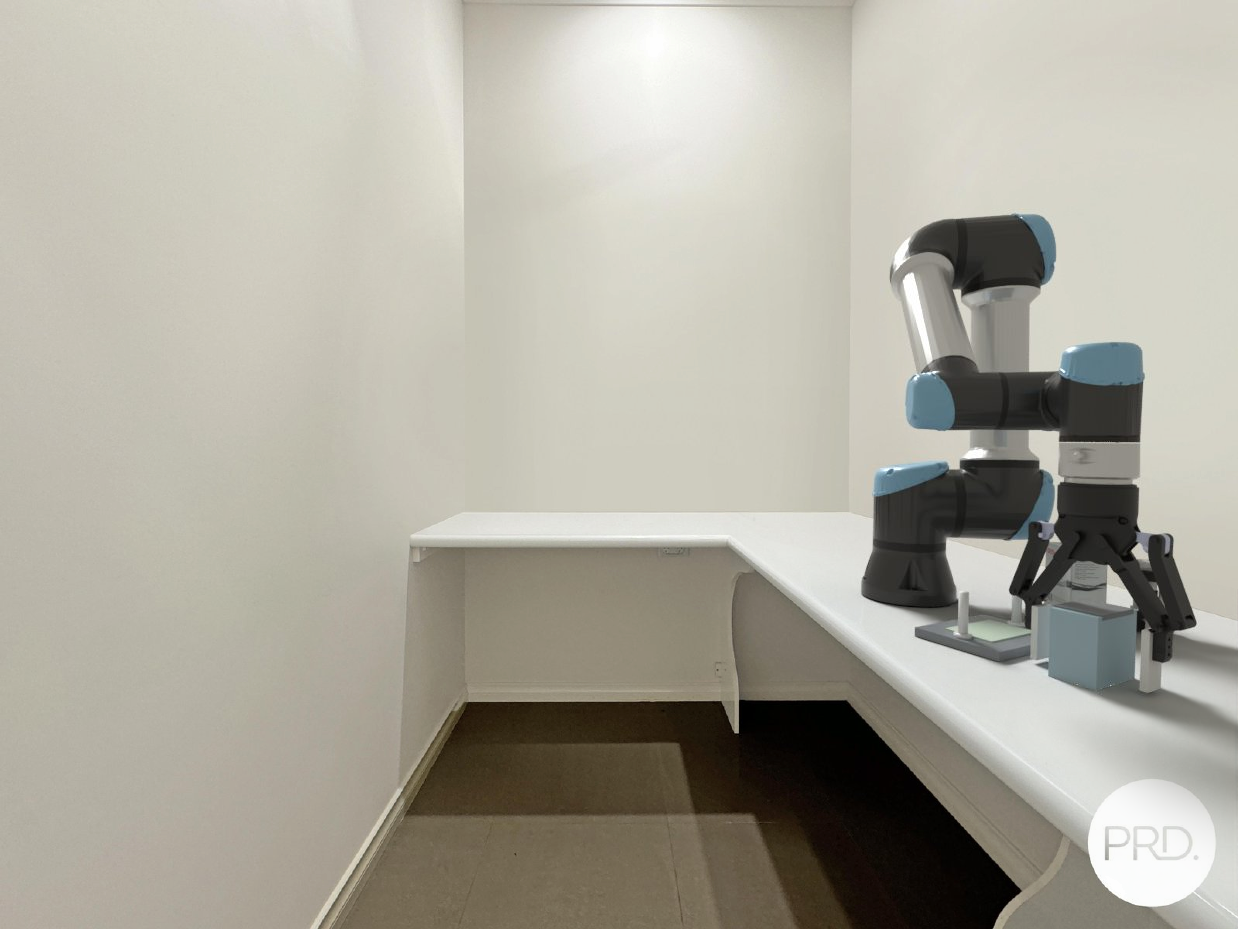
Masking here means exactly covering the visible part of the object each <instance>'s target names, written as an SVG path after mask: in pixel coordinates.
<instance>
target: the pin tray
mask: <svg viewBox="0 0 1238 929" xmlns="http://www.w3.org/2000/svg"><path fill="white" fill-rule="evenodd" d="M969 605H970V592H969V591H966V590H959V591H958V605H957V606H958V609H957V610H958V611H957V618H956V619H951V620H946V621H941V622H935V623H930V624H925V625H920V626H915V627H914V637H917V638H921V639H924V640H927V641H931V642H933V643H937V644H940V645H944V646H947V647H950V648H953V649H956V650H958V651H962V652H966V653H969V654H972V655H976V656H978V657H982V658H985V659H989V660H991V661H995V662H998V663H1000V662H1004V661H1007V660H1012V659H1016V658H1020V657H1021V658H1022V657H1024V656H1025V657H1026V656H1029V655H1030V652H1031V630H1030V629H1026V626H1025V621H1022V614H1023V612H1022V611H1023V600H1022V599H1021V598H1019V597H1017V596H1013V595H1011V619H1004V618H999V617H996V616H992V615H987V614H984V613H983V614H978V615H972V616H969V615H970V614H969V612H970V611H969V610H970V608H969V607H970V606H969Z"/></svg>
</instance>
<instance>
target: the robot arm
mask: <svg viewBox="0 0 1238 929" xmlns="http://www.w3.org/2000/svg"><path fill="white" fill-rule="evenodd" d="M1056 242H1057V241H1056V237H1055V233H1054V229H1053V228H1052V226H1051V224H1050V222H1049V221H1048V220H1046V218H1045V217H1044V216H1042V215H1039V214H1036V213H1024V214H1023V213H1022V214H1021V213H1013V212H1012V213H1009V214H1002V215H1000V214H999V215H989V216H973V217H961V218H945V219H940V220H936V221H932V222H931V223H929V224H927V225H924V226H923V227H921V228H919V229H918V230H917V231H915V232H913V234H911V235H910V236H909V237H908V238H907V239H906V240H905V241H903V243H902V244H901V245H900V247H899V249H897V251H896V253H895V255H894V257H893V259H892V262H891V264H890V267H889V268H890V269H889V282H890V289H891V292H892V294H893V295H894V298H896V300H898V301H899V302H901V307H902V312H903V317H904V321H905V324H906V330H907V334H908V339H909V343H910V344H909V345H910V348H911V352H912V357H913V361H914V367H915V369H916V370H915V371H916V373H915V374H913V375H912V376H910V377H909V379H908V381H907V384H906V390H905V398H904V399H905V402H904V404H905V405H904V406H905V416H906V421H907V423H908V425H909V426H910V427H911V428H913V429H917V430H931V431H938V432H945V431H969V448H968V450H967V451H966V453H964V454H963V455H962V456H961V457H960V458H959V468H957V469H956V468H955V469H954V468H953V469H950V465H949V463H948V461H947V460H933V461H931V460H930V461H919V462H909V463H900V464H899V463H898V464H893V465H887V466H883V467H881V468H879V469H878V470H877V471H875V475H874V480H873V491H872V498H873V508H872V509H873V514H872V518H873V519H872V549H871V552H870V556H869V559H868V561H867V564H866V567H865V571H864V574H863V576H862V578H861V582H860V584H861V585H860V592H861V593H860V594H862V595H863V596H864V597H865V598H869V599H871V600H875V601H878V602H882V603H887V604H891V605H898V606H906V607H907V606H908V607H922V608H923V607H927V608H930V607H931V608H933V607H935V608H936V607H937V608H938V607H947V606H952V605H955V604H956V602H957V599H958V596H957V595H958V594H957V593H958V590H957V585H956V584H955V581H954V576H953V573H952V570H951V566H950V563H949V560H948V558H947V539H948V538H950V539H951V538H953V539H975V540H976V539H978V540H979V539H980V540H999V541H1000V540H1002V541H1006V542H1011V541H1013V540H1015V541H1016V540H1017V541H1018V540H1019V541H1025V540H1027V541H1026V544H1025V547H1024V550H1023V552H1022V555H1021V557H1020V560H1019V562H1018V565H1017V567H1016V570H1015V573H1014V576H1013V578H1012V580H1011V583H1010V585H1009V588H1008V591H1009V594H1010V595H1011V596H1012V595H1013V596H1017V597H1019V598H1021V599H1022V602H1024V623H1025V626H1026V629H1030V630H1031V652H1030V654H1029V655H1030V658H1029V659H1030V660H1034V661H1039V660H1044V659H1049V630H1050V608H1051V605H1050V604H1046V603H1044V601H1046V600H1047V599H1045V598H1046V597H1047V596H1048V595H1049V593H1050V592H1051V591H1052V590H1053V588H1054V587H1055V586H1056V585H1057V584H1058V582H1059V581H1060V580H1061V579H1062V577H1063V576H1064V575H1065V574H1066V572H1067V571H1068V570H1069V569H1070V567H1071V566H1072V565H1073V564H1074V563H1075V562H1077V561H1080V562H1086V561H1091V562H1093V563H1096V564H1100V565H1108V566H1109V568H1110V569H1111V571H1112V572H1113V573H1115V574H1116V575H1117V576H1118V577H1119V579H1120V580H1121V582H1122V584H1123V586H1124V587H1125V589H1126V590H1127V592H1128V593H1129V595H1130V597H1131V598H1132V601H1133V600H1134V602H1135V603H1136V605H1137V606H1138V608H1139V610H1140V611H1141V613H1142V614H1143V616H1144V618H1145V619H1146V621H1147V622H1148V624H1149V626H1150V627H1151V628H1148V629H1144V630H1142V632H1140V633H1141V634H1140V635H1141V636H1140V637H1141V638H1140V663H1139V664H1140V665H1139V666H1140V668H1139V691H1140V692H1143V693H1146V694H1147V693H1150V692H1151V693H1152V692H1154V691H1155V692H1156V691H1157V690H1160V689H1161V688H1162V664H1164V663H1167V662H1168V663H1169V662H1170V661H1171V660H1172V658H1173V643H1174V642H1173V641H1174V640H1173V639H1174V633H1175V632H1181V631H1184V630H1185V631H1186V630H1189V629H1192V628H1195V627H1196V626H1197V625H1198V623H1197V619H1196V616H1195V613H1194V611H1193V608H1192V606H1191V602H1190V599H1189V597H1188V594H1187V591H1186V588H1185V586H1184V583H1183V579H1182V577H1181V574H1180V571H1179V569H1178V566H1177V564H1176V561H1175V560H1176V559H1175V558H1174V542H1175V539H1174V537H1173V535H1172V534H1170V533H1158V534H1156V533H1150V532H1149V533H1148V532H1143V531H1141V529H1140V528H1139V525H1138V518H1139V509H1140V508H1139V507H1140V506H1139V504H1140V503H1139V502H1140V487H1138V485H1137V484H1136V483H1134V484H1133V480H1138V479H1139V478H1141V434H1142V432H1141V431H1142V416H1143V413H1142V412H1143V411H1142V410H1143V395H1144V393H1143V392H1144V381H1145V378H1146V375H1145V374H1146V373H1144V365H1143V364H1144V363H1143V362H1144V361H1143V350H1142V348H1141V347H1140V346H1139V345H1138V344H1136V343H1133V342H1129V341H1128V342H1127V341H1108V342H1106V341H1104V342H1094V343H1093V342H1091V343H1085V344H1084V343H1083V344H1078V345H1072V346H1069V347H1067V348H1066V349H1065V350H1063V352H1062V355H1061V361H1060V367H1059V368H1058V370H1054V371H1053V370H1052V371H1049V370H1048V371H1030V316H1031V315H1030V314H1031V313H1030V305H1031V304H1032V302H1033V301H1034V300H1035V299H1037V298H1038V297H1039V296H1040V294H1041V287H1042V286H1045V285H1046V284H1048V283H1049V282H1050V281H1051V280H1052V277H1053V275H1054V272H1055V269H1056V268H1055V263H1056V261H1057V243H1056ZM954 290H955V291H957V290H958V291H959V290H960V301H961V304H963V305H964V306H965V307H967V309H969V311H970V340H969V335H968V332H967V329H966V326H965V322H964V320H963V317H962V314H961V310H960V308H959V304H958V301H957V297H956V294H955V292H954ZM1029 431H1043V432H1044V431H1045V432H1058V435H1059V436H1058V464H1057V465H1058V467H1057V469H1058V470H1057V473H1058V474H1057V475H1058V476H1059V477H1061V478H1063V481H1060V482H1059V484H1057V488H1055V485H1054V478H1053V475H1052V473H1050V472H1049V471H1047V470H1045V469H1041V468H1040V465H1041V464H1040V462H1041V461H1040V458H1039V457H1038V456H1037V455H1036V454H1035V453H1034V452H1032V451H1031V449H1030V447H1029V442H1030V441H1029V440H1030V438H1029V436H1030V434H1029V433H1030V432H1029ZM1055 490H1057V492H1056V491H1055ZM1055 499H1056V511H1057V513H1058V514H1057V515H1058V516H1057V519H1056V521H1055V522H1050V521H1051V519H1052V518H1051V517H1052V514H1053V511H1054V505H1055ZM1054 535H1055V536H1056V537H1057V538H1058V540H1059V541H1060V542H1061V543H1062V545H1061V546H1060V547H1059V549H1058V550H1057V551H1056V553H1055V554H1054V555H1053V559H1052V561H1051V562H1050V563H1049V564H1048V566H1047V567H1046V568H1044V570H1043V571H1042V572H1041V573H1040V575H1039V576H1037V575H1038V573H1039V572H1038V571H1039V569H1040V567H1041V564H1042V562H1043V559H1044V557H1045V556H1046V550H1047V547H1048V545H1049V542H1051V541H1050V540H1052V539H1053V538H1054ZM1138 544H1140V545H1141V546H1142V550H1143V551H1144V552H1145V553H1146V554H1147V556H1148V560H1149V562H1150V565H1151V568H1152V571H1153V574H1154V577H1155V580H1156V583H1157V589H1158V592H1159V591H1160V594H1161V597H1162V600H1163V603H1164V605H1165V607H1164V605H1163V603H1162V602H1161V600H1160V599H1159V595H1158V596H1157V594H1156V593H1155V591H1154V589H1153V588H1152V586H1151V585H1150V583H1149V582H1148V580H1147V579H1146V577H1145V575H1144V574H1143V572H1142V571H1141V569H1140V564H1139V562H1138V560H1137V559H1138V558H1136V556H1135V555H1134V553H1133V549H1135V547H1137V546H1138ZM1036 577H1037V578H1036ZM1035 579H1036V580H1035Z"/></svg>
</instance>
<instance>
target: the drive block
mask: <svg viewBox="0 0 1238 929" xmlns="http://www.w3.org/2000/svg"><path fill="white" fill-rule="evenodd" d="M1136 624H1137V609H1132V608H1130V607H1126V606H1122V605H1116V604H1111V603H1107V602H1106V603H1102V602H1097V601H1092V600H1087V599H1082V600H1077V601H1072V602H1067V603H1062V604H1056V605H1054V607H1051V608H1050V630H1049V657H1048V667H1047V668H1048V672H1047V676H1048V677H1049V678H1050V677H1051V678H1054V679H1057V680H1060V681H1064V682H1066V683H1069V684H1072V685H1076V684H1078V685H1077V686H1079V685H1080V686H1079V687H1082V686H1083V688H1085V687H1086V689H1089V688H1091V689H1090V690H1092V689H1093V690H1092V691H1096V690H1097V691H1100V690H1102V689H1101V688H1103V689H1106V688H1109V687H1108V686H1110V685H1113V684H1116V685H1118V684H1122V683H1125V681H1126V682H1128V681H1131V680H1135V679H1136V678H1135V676H1136V675H1135V674H1136V654H1137V653H1136V651H1137V650H1136V646H1137V644H1136V643H1137V631H1136ZM1113 686H1114V685H1113ZM1110 687H1111V686H1110ZM1099 689H1100V690H1099Z"/></svg>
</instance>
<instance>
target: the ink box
mask: <svg viewBox="0 0 1238 929" xmlns="http://www.w3.org/2000/svg"><path fill="white" fill-rule="evenodd" d="M1061 545H1062V543H1061V541H1060V542H1059V541H1049V545H1048V547H1047V550H1046V552H1045V564H1044V567H1045V568H1046V567H1047V566H1048V564H1049V563H1050V562H1051V561H1052V559H1053V555H1054V554H1055V553H1056V551H1057V550H1058V549H1059V547H1060V546H1061ZM1108 566H1109V565H1100V564H1096V563H1093V562H1091V561H1086V562H1080V561H1077V562H1075V563H1074V564H1073V565H1072V566H1071V567H1070V569H1069V570H1068V571H1067V572H1066V574H1065V575H1064V576H1063V577H1062V579H1061V580H1060V581H1059V582H1058V584H1057V585H1056V586H1055V587H1054V588H1053V590H1052V591H1051V592H1050V593H1049V595H1048V596H1047V597H1046V598H1045V599H1047V600H1046V601H1043V604H1044V603H1046V604H1050V605H1051V607H1054V605H1056V604H1062V603H1067V602H1072V601H1077V600H1082V599H1087V600H1092V601H1097V602H1102V603H1107V599H1108V598H1107V594H1108V591H1107V589H1108ZM1045 568H1044V569H1045Z"/></svg>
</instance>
